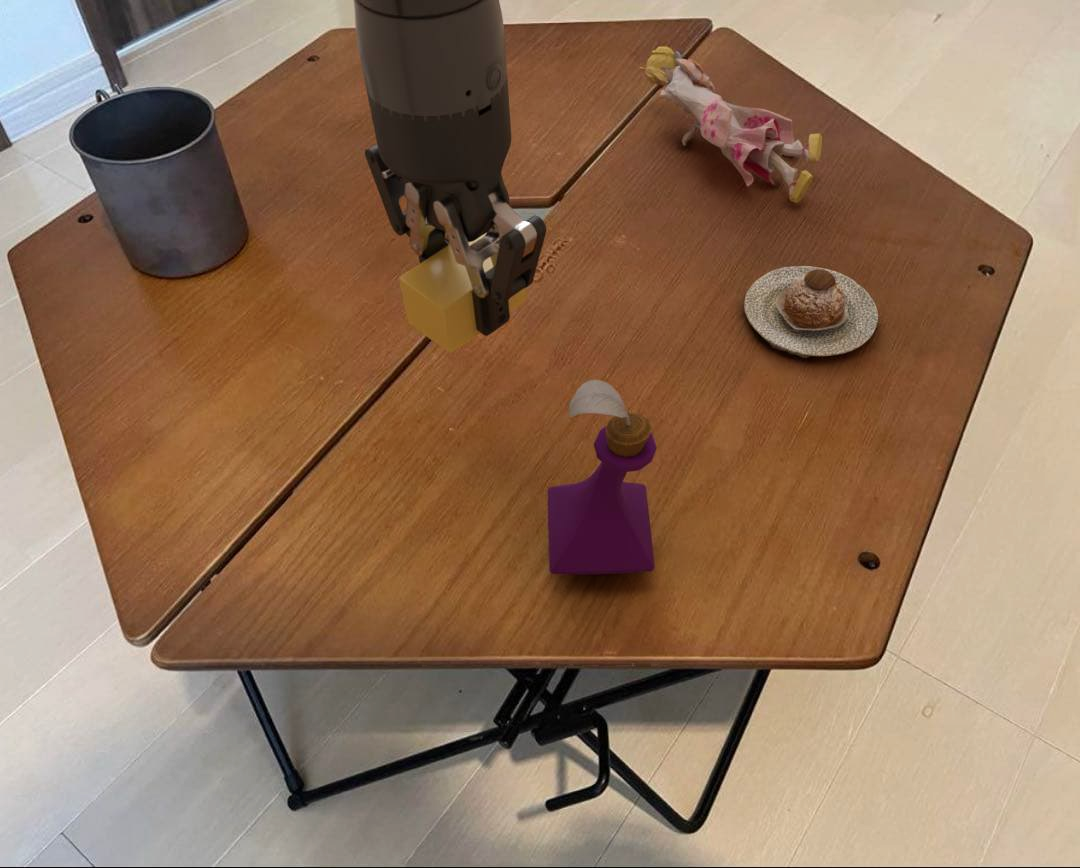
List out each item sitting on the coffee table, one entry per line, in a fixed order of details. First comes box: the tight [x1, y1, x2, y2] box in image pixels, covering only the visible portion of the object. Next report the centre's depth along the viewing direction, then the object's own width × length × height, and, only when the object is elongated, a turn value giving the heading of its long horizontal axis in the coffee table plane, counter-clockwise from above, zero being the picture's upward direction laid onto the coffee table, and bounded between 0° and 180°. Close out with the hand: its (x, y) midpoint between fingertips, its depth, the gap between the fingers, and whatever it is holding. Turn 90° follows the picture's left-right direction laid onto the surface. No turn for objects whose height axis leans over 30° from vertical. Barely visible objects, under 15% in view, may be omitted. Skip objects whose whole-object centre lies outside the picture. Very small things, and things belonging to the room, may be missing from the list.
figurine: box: [638, 46, 823, 204], centre depth 96 cm, size 12×12×25 cm
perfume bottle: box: [546, 379, 657, 576], centre depth 62 cm, size 8×8×18 cm
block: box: [398, 233, 528, 355], centre depth 60 cm, size 7×4×4 cm, turn 135°
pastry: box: [743, 265, 879, 359], centre depth 82 cm, size 12×12×5 cm
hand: (467, 308), depth 61 cm, fingers closed on block, 4 cm apart
